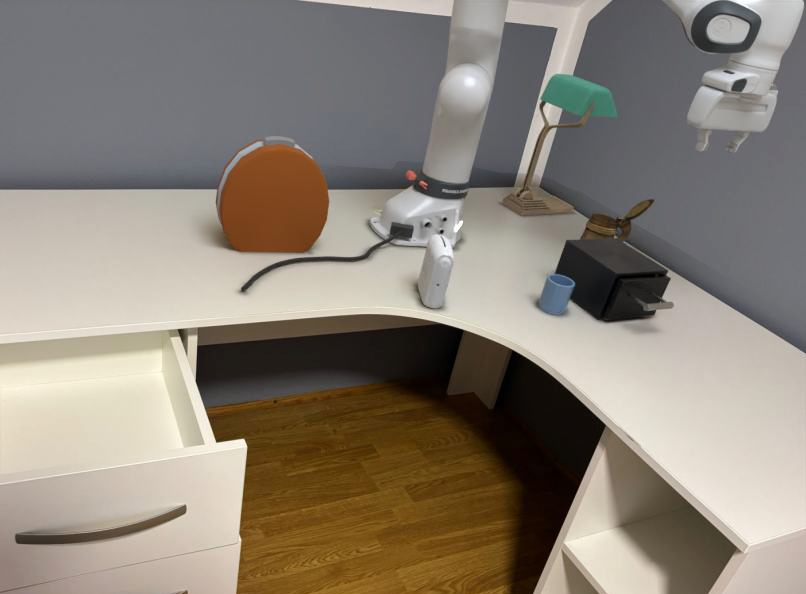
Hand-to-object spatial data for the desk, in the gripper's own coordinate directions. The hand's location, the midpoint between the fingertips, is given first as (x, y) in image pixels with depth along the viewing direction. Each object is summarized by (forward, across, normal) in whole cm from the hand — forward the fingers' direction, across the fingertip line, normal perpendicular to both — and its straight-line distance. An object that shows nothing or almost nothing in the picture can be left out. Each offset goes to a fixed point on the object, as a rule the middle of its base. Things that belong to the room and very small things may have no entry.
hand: (715, 151), depth 142 cm
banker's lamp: (+33, -6, -50) cm, 60 cm away
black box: (+33, +16, 0) cm, 37 cm away
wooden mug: (+33, +2, -16) cm, 37 cm away
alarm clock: (+33, +81, -33) cm, 94 cm away
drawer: (+32, +16, +5) cm, 36 cm away
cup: (+33, +31, +2) cm, 45 cm away
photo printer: (+33, +56, -6) cm, 65 cm away
